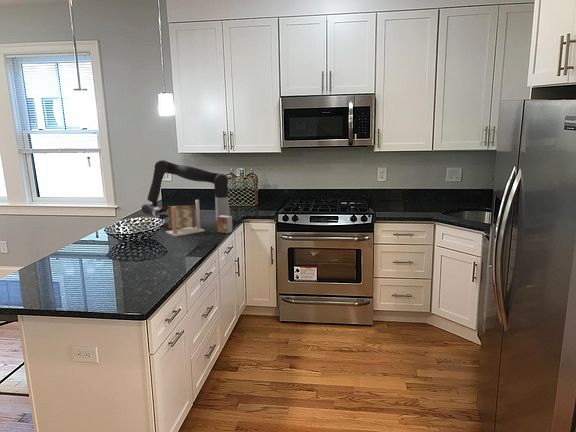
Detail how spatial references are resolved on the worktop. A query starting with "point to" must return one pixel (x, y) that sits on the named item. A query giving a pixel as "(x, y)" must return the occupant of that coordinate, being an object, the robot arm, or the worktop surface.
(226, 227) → the small box
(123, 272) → the worktop surface
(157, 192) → the robot arm
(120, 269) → the worktop surface
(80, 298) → the worktop surface
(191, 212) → the panel
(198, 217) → the gate frame
